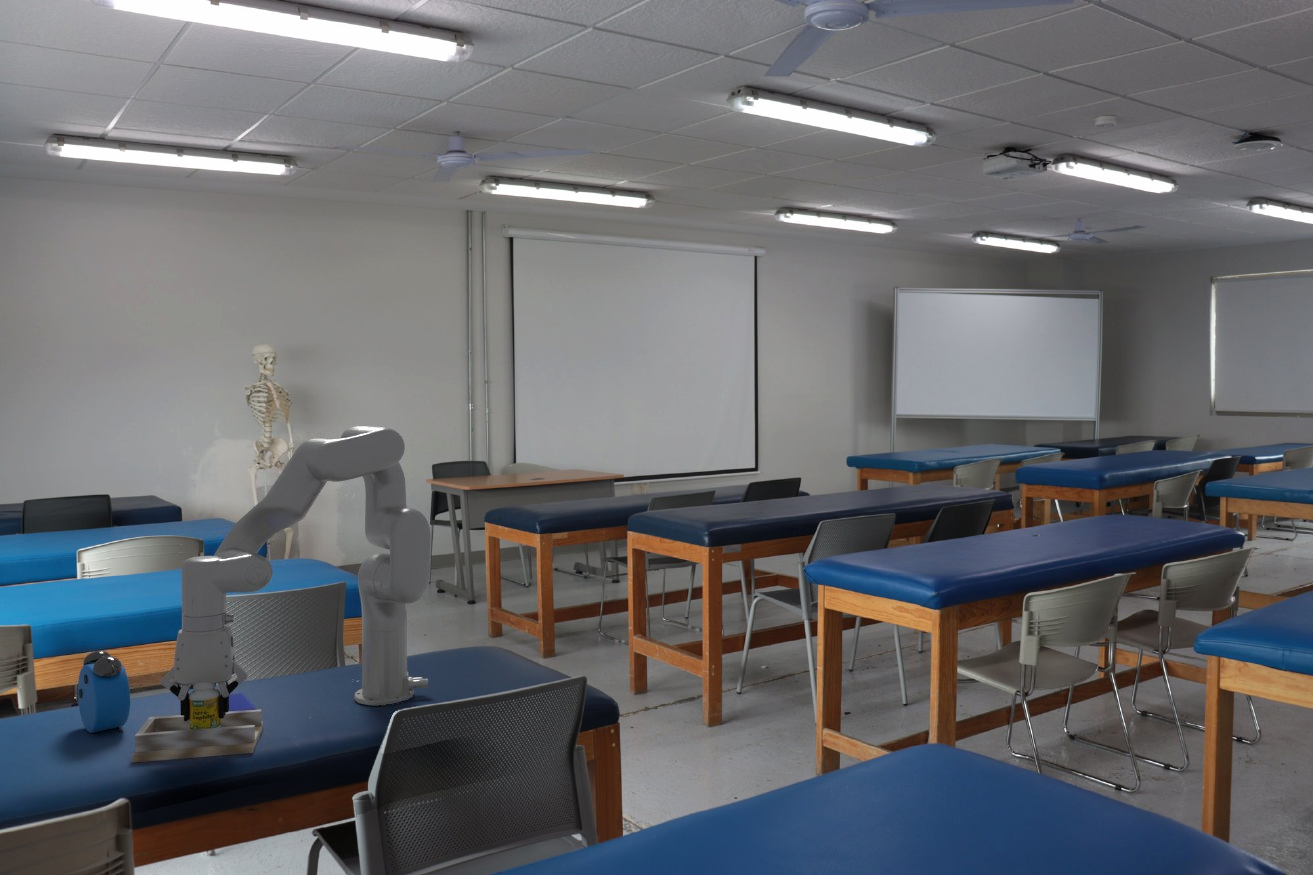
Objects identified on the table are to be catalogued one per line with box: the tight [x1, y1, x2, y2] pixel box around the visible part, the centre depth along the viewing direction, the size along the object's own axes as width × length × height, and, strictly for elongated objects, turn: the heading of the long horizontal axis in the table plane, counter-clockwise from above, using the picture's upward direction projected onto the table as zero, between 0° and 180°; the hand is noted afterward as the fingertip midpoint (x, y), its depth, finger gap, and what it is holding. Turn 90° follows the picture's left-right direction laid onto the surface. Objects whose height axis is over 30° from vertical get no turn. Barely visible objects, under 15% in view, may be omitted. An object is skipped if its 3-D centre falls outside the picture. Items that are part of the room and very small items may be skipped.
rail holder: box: [131, 709, 264, 763], centre depth 177 cm, size 20×14×4 cm
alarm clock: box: [77, 649, 131, 734], centre depth 184 cm, size 13×6×15 cm, turn 45°
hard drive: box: [229, 692, 258, 712], centre depth 198 cm, size 2×8×12 cm
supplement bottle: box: [189, 683, 221, 730], centre depth 177 cm, size 5×5×10 cm
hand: (205, 716), depth 177 cm, fingers closed on supplement bottle, 5 cm apart
